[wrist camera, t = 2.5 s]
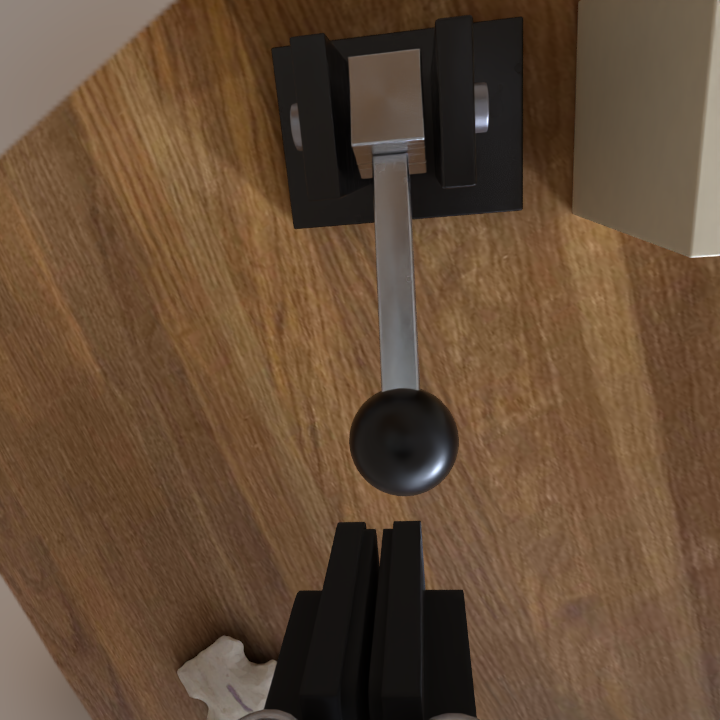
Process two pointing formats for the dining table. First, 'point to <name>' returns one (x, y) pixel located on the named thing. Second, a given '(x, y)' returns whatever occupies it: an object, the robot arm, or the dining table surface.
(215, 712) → the decorative stone
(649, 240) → the toaster
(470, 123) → the lever bracket
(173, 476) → the dining table surface
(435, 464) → the lever
